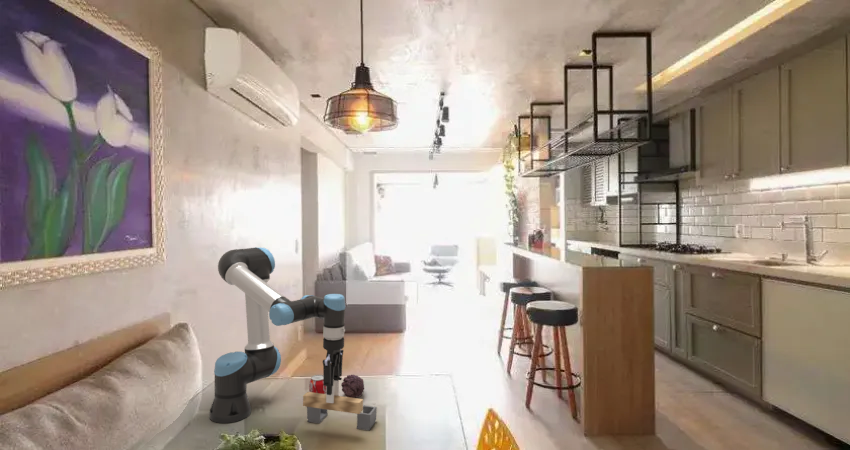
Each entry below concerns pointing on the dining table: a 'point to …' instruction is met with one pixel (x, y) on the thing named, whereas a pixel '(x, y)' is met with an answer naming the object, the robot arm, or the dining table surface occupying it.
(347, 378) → the pine cone
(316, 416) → the end caps
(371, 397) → the dining table surface
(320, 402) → the slat
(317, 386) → the soda can
